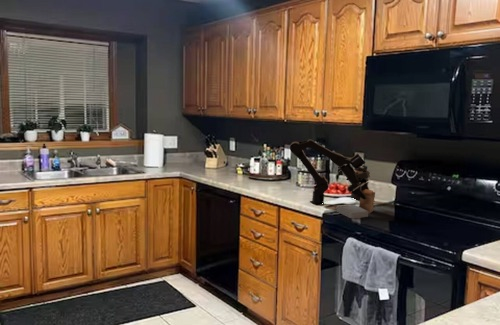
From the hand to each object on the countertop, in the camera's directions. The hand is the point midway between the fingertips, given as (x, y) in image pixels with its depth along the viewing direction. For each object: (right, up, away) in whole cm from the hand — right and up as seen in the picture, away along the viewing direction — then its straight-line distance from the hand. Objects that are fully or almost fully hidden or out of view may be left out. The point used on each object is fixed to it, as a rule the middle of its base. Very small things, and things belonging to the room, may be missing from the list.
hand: (367, 197), depth 239 cm
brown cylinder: (-1, -8, +2) cm, 8 cm away
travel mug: (0, -3, +25) cm, 25 cm away
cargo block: (0, +1, 0) cm, 1 cm away
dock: (-10, -8, -6) cm, 14 cm away
